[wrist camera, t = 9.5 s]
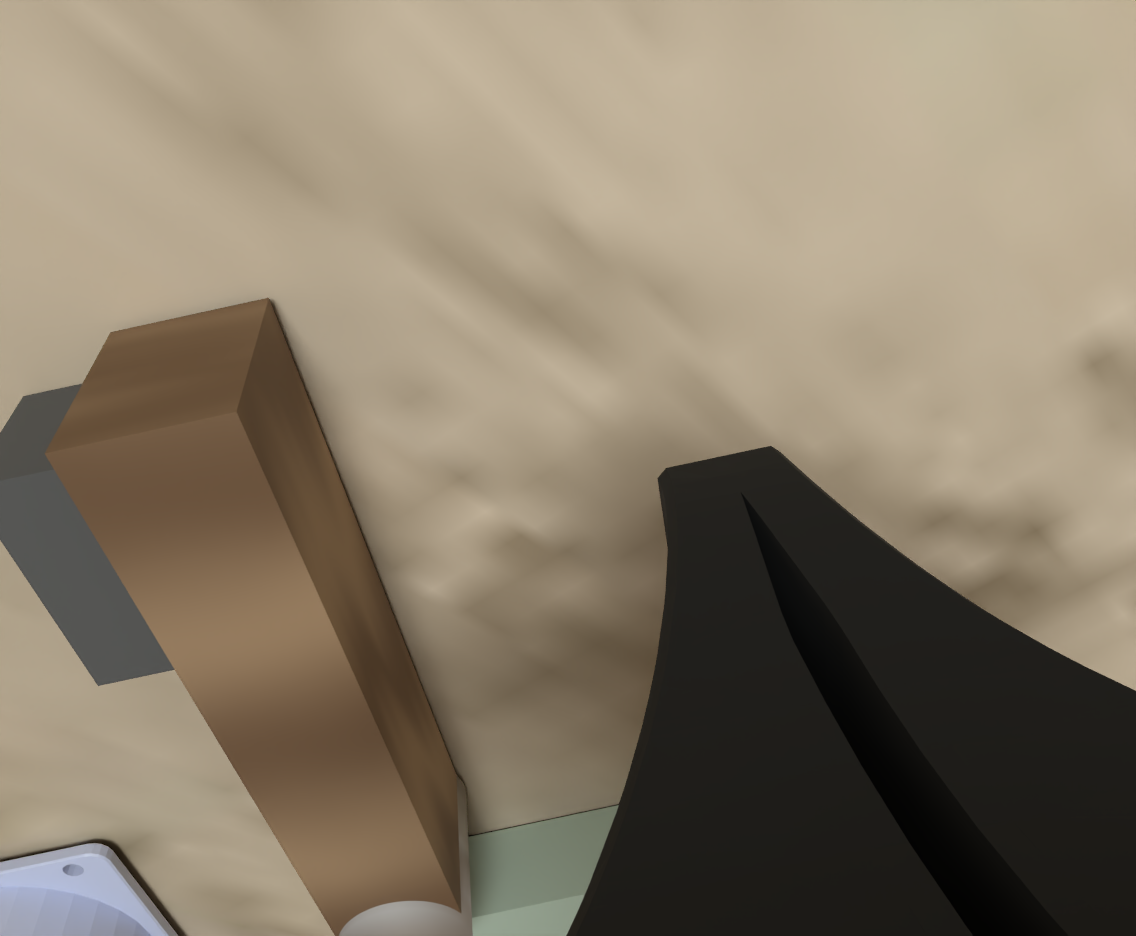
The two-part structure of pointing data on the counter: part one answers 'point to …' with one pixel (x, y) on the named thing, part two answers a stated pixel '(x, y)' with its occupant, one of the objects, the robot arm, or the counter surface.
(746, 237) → the counter surface
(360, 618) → the folding leg
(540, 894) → the stool seat
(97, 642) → the leg stop
